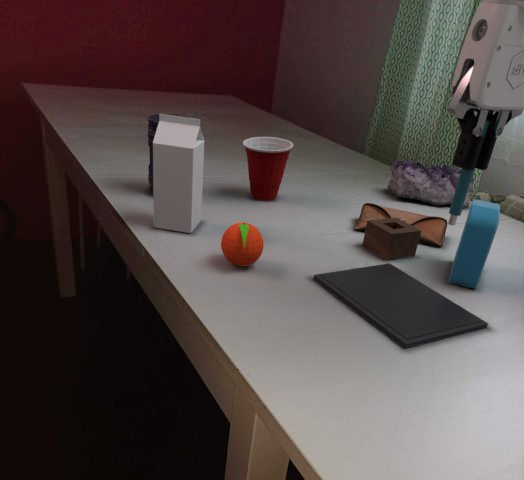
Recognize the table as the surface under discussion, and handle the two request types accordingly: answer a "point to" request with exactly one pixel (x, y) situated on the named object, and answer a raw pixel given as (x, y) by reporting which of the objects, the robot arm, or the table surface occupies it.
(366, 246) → the pen stand
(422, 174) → the geode
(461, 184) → the stylus
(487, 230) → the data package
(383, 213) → the sunglasses case
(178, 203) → the milk carton
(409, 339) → the tablet
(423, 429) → the table surface
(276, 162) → the plastic cup
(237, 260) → the clementine
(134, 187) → the table surface
